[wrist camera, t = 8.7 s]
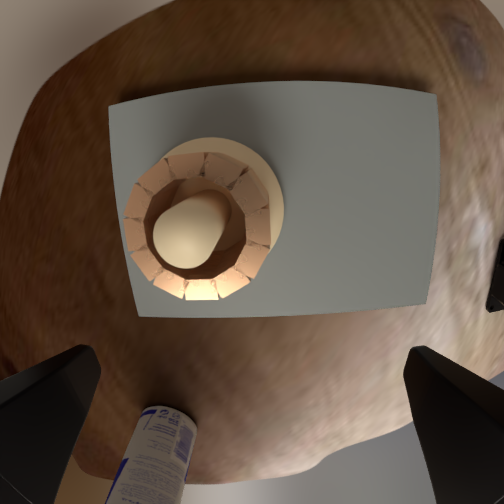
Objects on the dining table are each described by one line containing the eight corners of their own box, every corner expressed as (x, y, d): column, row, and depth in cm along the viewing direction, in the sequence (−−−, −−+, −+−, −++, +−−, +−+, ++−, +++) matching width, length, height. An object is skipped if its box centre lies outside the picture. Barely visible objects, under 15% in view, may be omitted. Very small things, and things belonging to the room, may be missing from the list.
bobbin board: (427, 96, 14) (496, 79, 8) (418, 296, 19) (467, 353, 12) (117, 108, 16) (46, 94, 9) (144, 308, 20) (101, 370, 13)
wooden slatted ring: (266, 149, 15) (266, 147, 11) (272, 265, 17) (273, 298, 13) (150, 160, 15) (116, 164, 11) (163, 268, 17) (138, 299, 13)
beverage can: (134, 401, 24) (77, 529, 10) (187, 402, 23) (144, 552, 9) (155, 435, 26) (117, 550, 11) (205, 437, 25) (178, 566, 11)
